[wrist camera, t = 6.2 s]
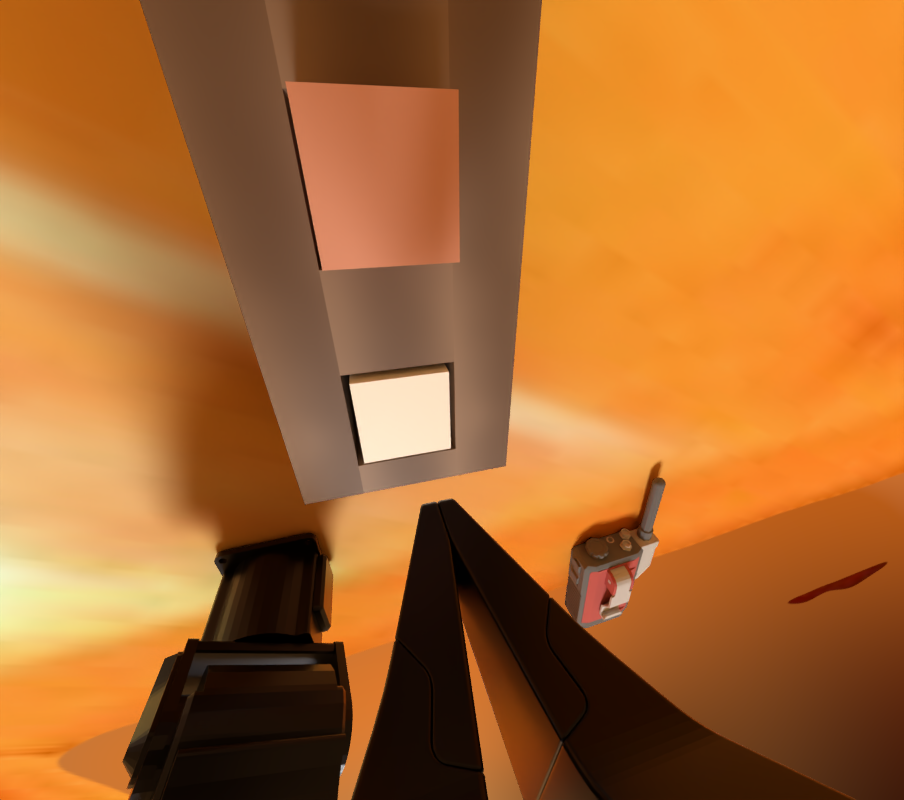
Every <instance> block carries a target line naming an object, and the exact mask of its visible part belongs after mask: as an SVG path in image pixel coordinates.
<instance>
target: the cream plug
mask: <svg viewBox="0 0 904 800" xmlns="http://www.w3.org/2000/svg"><path fill="white" fill-rule="evenodd" d="M349 385H350V390H351V395H352V400H353V406H354V411H355V416H356V422H357V427H358V432H359V437H360V443H361V448H362V453H363V458H364V463H370V462H375V461H381V460H387V459H392V458H398V457H404V456H410V455H415V454H421V453H427V452H432V451H438V450H444V449H450V448H451V436H450V397H449V371H448V369H447V368H446V366H445V364H444V363H440V364H432V365H424V366H415V367H407V368H399V369H391V370H383V371H374V372H366V373H358V374H350V375H349Z"/></svg>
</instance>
